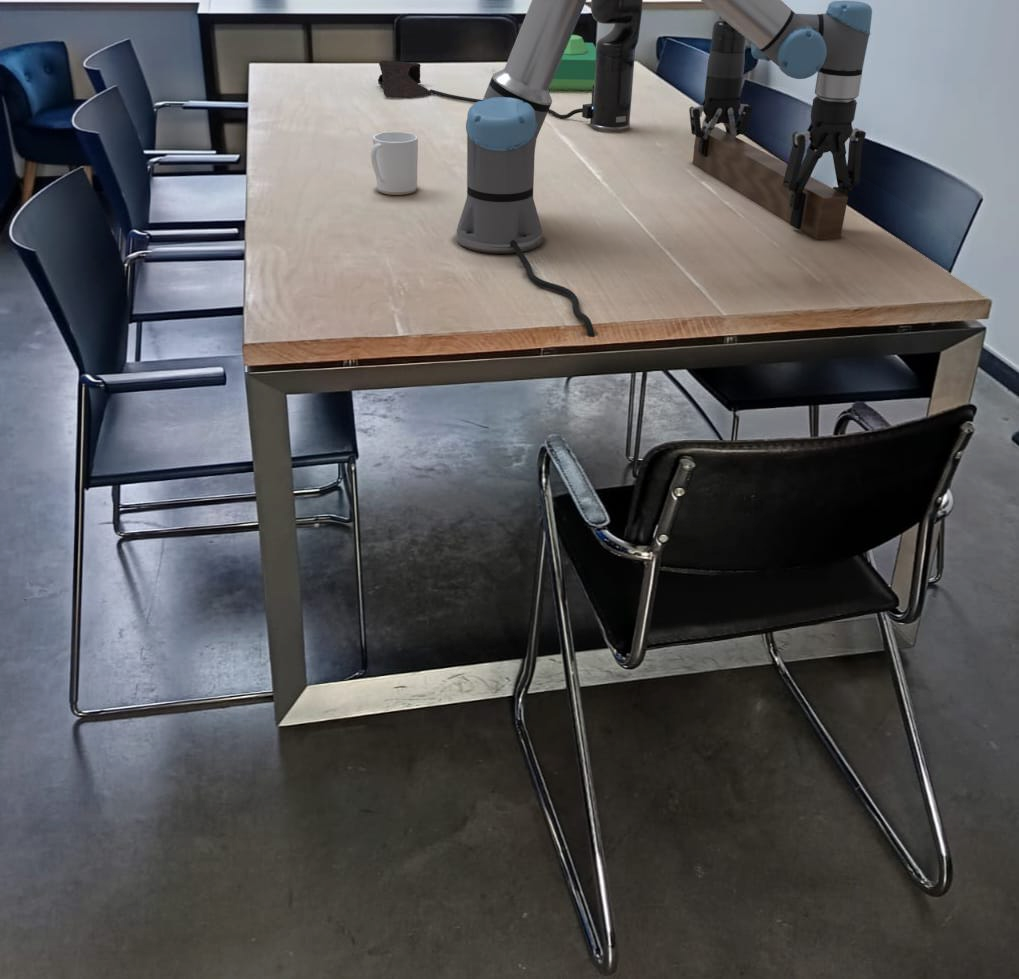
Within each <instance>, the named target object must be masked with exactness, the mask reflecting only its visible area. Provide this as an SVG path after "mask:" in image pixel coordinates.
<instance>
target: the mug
mask: <svg viewBox="0 0 1019 979" xmlns="http://www.w3.org/2000/svg"><path fill="white" fill-rule="evenodd" d="M418 155H419V137H418V135H417V134H415V133H412V132H407V131H383V132H379V133H375V134H374V135H372V148H371V151H370V161H371V165H372V168H373V172H374V175H375V180H376V181H375V182H376V189H377V191H378V192H379V193H381V194H385V195H391V196H400V195H401V196H402V195H409V194H412V193H415V192H416V191H417V190H418V160H419V159H418V158H419V156H418Z"/></svg>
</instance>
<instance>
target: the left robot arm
mask: <svg viewBox="0 0 1019 979" xmlns="http://www.w3.org/2000/svg"><path fill="white" fill-rule="evenodd" d="M700 1H701V2H702V3H703V4H704V5H706V6H707V7H708V8H709V9H710V10H712V11H713V12H714V13H715V14H716V15H717V16H719V18H720V19H721V18H722V19H724V20H725V21H726V22H727V23H728V24H730V25H731V26H732V27H733V28H734V29H735V30H737V31H738V32H739V33H740V34H741V35H743V36H744V37H745V38H746V41H748V42H749V43H750V49H751V51H750V52H751V56H752V57H753V59H754V60H763V61H766V62H770V61H771V62H773V63H774V64H775V65H776V66H777V67H778V68H779V70H780V71H781V72H782V73H783V74H785V75H786V76H788V77H789V78H792V79H796V80H804V79H809V78H811V77H813V76H814V75H816V74H817V75H816V82H815V87H814V94H815V95H816V96H815V97H814V98H813V99H812V105H811V111H810V124H809V126H808V128H807V130H805V131H802V132H798V131H794V132H793V133H792V135H791V136H792V139H791V140H792V147H791V150H790V155H789V157H788V162H787V164H788V165H787V169H786V173H785V176H784V180H783V187H785V188H787V189H788V190H790V191H791V198H790V204H789V206H790V209H792V214H791V220H790V223H789V226H792V227H793V228H794V229H796V230H800V229H801V224H802V218H803V212H804V206H805V199H806V193H804V192H803V190H804V188H805V186H806V184H807V182H808V180H809V178H810V177H812V173H813V172H814V169H815V168H816V166H817V164H818V161H819V160H820V159H821V158H823V155H824V154H826V153H829V152H830V153H831V154H832V160H833V167H834V173H835V179H836V185H837V186H833V187H832V188H833V189H835V190H837V191H839V192H840V193H842V194H844V195H846V196H848V192H851V191H852V190H853V187H854V186H855V187H857V186H858V185H859V184H860V182H861V181H860V179H861V165H862V151H863V143H864V142H865V139H866V136H867V133H866V131H865V130H862V129H860V128H857V127H856V128H853V125H852V124H853V122H854V120H855V116H856V110H857V104H858V102H857V100H856V99H857V98H858V97H859V95H860V90H861V83H862V76H863V69H864V65H865V57H866V54H867V49H868V43H869V38H870V36H871V25H872V19H873V18H872V17H873V9H872V7H871V5H869V4H868V3H866V2H864V1H856V0H834V1H831V2H830V3H829V4H828V5H827V10H825V13H817V14H814V13H813V14H812V13H796V12H795V11H794V10H792V9H791V8H790V7H789V6H788V5H787V4H786V3H785V2H784V1H782V0H700ZM586 2H587V0H531V2H530V4H529V7H528V9H527V12H526V14H525V16H524V19H523V21H522V24H521V26H520V29H519V31H518V34H517V36H516V39H515V41H514V44H513V46H512V49H511V51H510V54H509V56H508V59H507V61H506V63H505V66H504V68H503V69H501V70H498V71H497V72H494V73H492V76H491V78H490V81H489V83H488V86H487V88H486V91H485V93H484V95H483V98H482V100H483V101H478V102H476V103H474V102H473V104H472V105H471V106H470V107H469V109H468V111H467V117H466V122H465V131H466V192H467V193H466V198H465V202H464V205H463V209H462V211H461V214H460V218H459V220H458V224H457V227H456V241H457V243H458V244H459V245H461V246H462V247H464V248H466V249H468V250H470V251H475V252H479V253H486V254H497V255H499V254H500V255H506V254H507V255H508V254H516V255H517V257H518V258H519V260H520V261H521V263H522V265H523V267H524V269H525V272H526V275H527V277H528V278H529V279H530V280H531V281H532V283H535V285H538V286H540V287H543V288H545V289H548V290H552V291H555V292H558V293H561V294H562V295H565V296H567V297H568V298H569V299H570V300H571V303H572V305H571V306H572V312H573V314H574V315H575V317H576V318H577V319H578V320H580V321H582V322H583V324H584V326H585V329H586V333H587V336H588V337H589V338H594V337H595V330H594V326H593V323H592V321H591V319H590V318H589V316H587V315H586V314H584V313H583V312H582V311H581V309H580V305H579V303H580V302H579V298H578V296H577V295H576V293H574V292H573V291H572V290H571V289H569V288H567V287H565V286H563V285H560V284H556V283H553V282H549V281H546V280H544V279H541V278H540V277H538V276H537V275H535V273H534V271H533V269H532V266H531V264H530V262H529V261H528V259H527V257H526V255H525V254H524V252H527V251H530V250H533V249H536V248H538V247H539V246H540V245H541V244H542V243H543V229H542V224H541V221H540V220H541V219H540V218H539V214H538V213H539V212H538V210H537V206H536V204H535V199H534V184H535V181H534V180H535V157H536V156H535V154H536V146H537V139H538V136H539V135H540V132H541V129H542V127H543V124H544V123H545V121H546V118H547V115H548V114H549V113H548V111H549V109H551V106H552V104H553V99H552V96H551V93H550V89H549V87H550V84H551V82H552V80H553V77H554V75H555V73H556V70H557V68H558V66H559V63H560V61H561V59H562V56H563V54H564V52H565V49H566V47H567V45H568V42H569V40H570V38H571V35H573V33H574V30H575V28H576V26H577V24H578V22H579V19H580V17H581V15H582V12H583V9H584V7H585V5H586ZM808 140H809V141H810V142H808ZM848 140H849V142H848V151H847V147H846V142H847V141H848ZM808 143H809V144H808ZM807 145H808V146H807ZM806 146H807V149H806ZM805 152H806V154H805ZM847 152H848V153H847ZM846 155H847V157H846Z"/></svg>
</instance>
